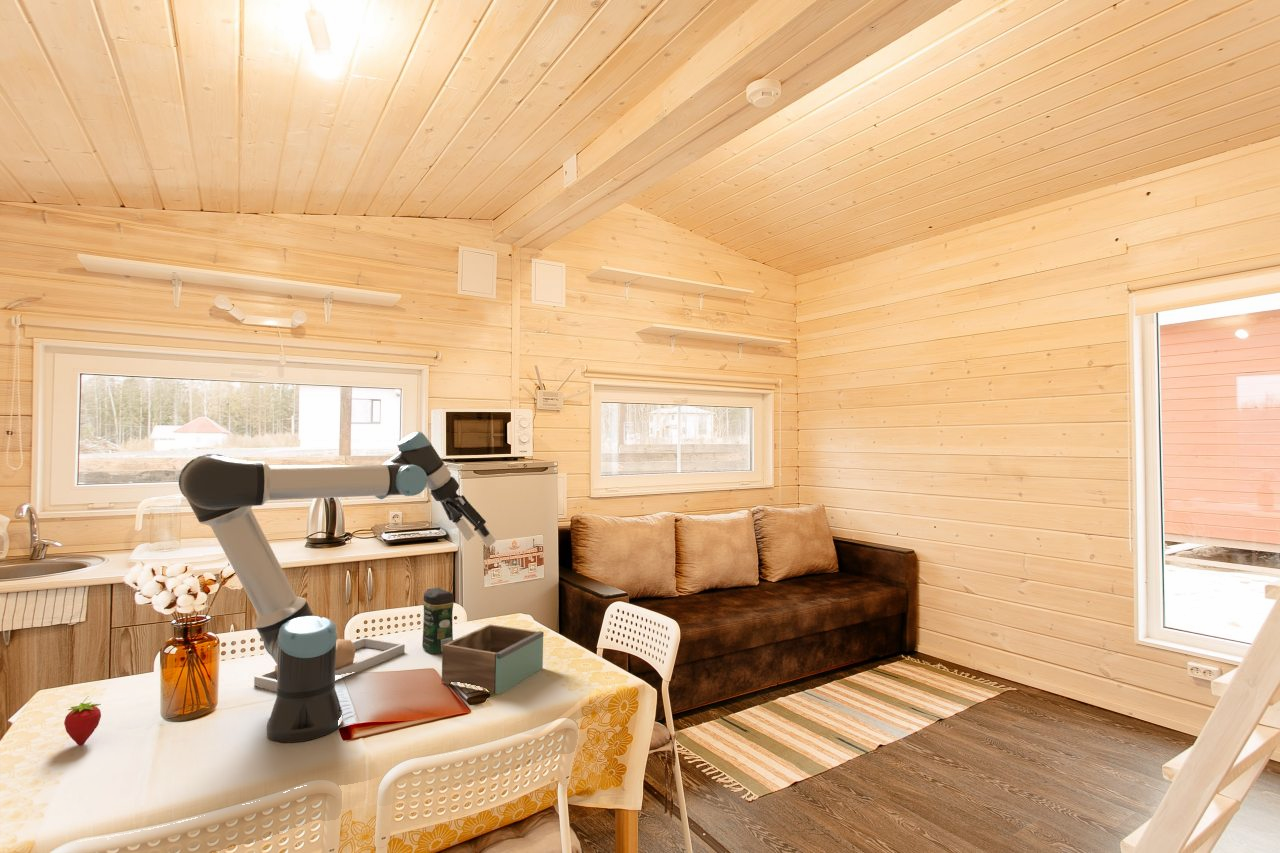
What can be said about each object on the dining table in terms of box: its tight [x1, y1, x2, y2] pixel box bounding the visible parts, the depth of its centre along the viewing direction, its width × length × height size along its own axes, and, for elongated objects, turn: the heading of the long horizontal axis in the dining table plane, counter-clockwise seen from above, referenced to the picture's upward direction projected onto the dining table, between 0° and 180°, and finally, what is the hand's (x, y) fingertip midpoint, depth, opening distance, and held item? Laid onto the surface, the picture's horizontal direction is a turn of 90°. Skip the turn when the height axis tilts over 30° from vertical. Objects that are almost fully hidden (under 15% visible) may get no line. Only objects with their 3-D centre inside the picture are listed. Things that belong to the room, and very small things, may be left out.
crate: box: [441, 624, 538, 695], centre depth 177 cm, size 21×16×11 cm
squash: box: [274, 638, 356, 675], centre depth 177 cm, size 11×20×9 cm, turn 130°
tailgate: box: [494, 630, 544, 695], centre depth 173 cm, size 21×1×10 cm, turn 158°
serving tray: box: [253, 637, 406, 693], centre depth 183 cm, size 37×16×2 cm, turn 158°
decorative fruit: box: [63, 695, 102, 746], centre depth 136 cm, size 6×8×10 cm
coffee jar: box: [422, 587, 455, 654], centre depth 200 cm, size 10×8×19 cm
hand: (481, 540), depth 187 cm, fingers open, 13 cm apart
